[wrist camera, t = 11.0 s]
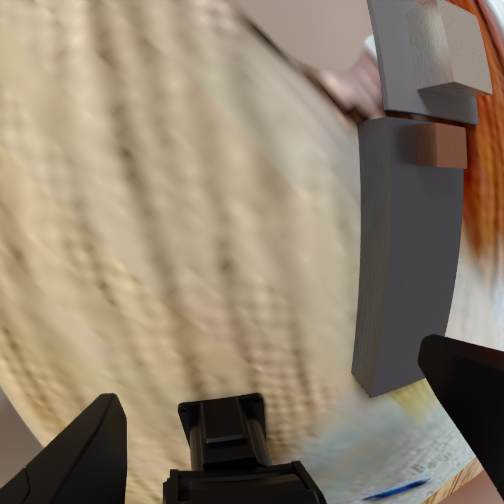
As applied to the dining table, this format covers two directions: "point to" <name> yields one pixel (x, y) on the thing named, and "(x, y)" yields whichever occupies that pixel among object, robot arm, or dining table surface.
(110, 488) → the robot arm
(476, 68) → the grey beige block
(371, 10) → the mat
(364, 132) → the body
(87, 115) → the dining table surface
